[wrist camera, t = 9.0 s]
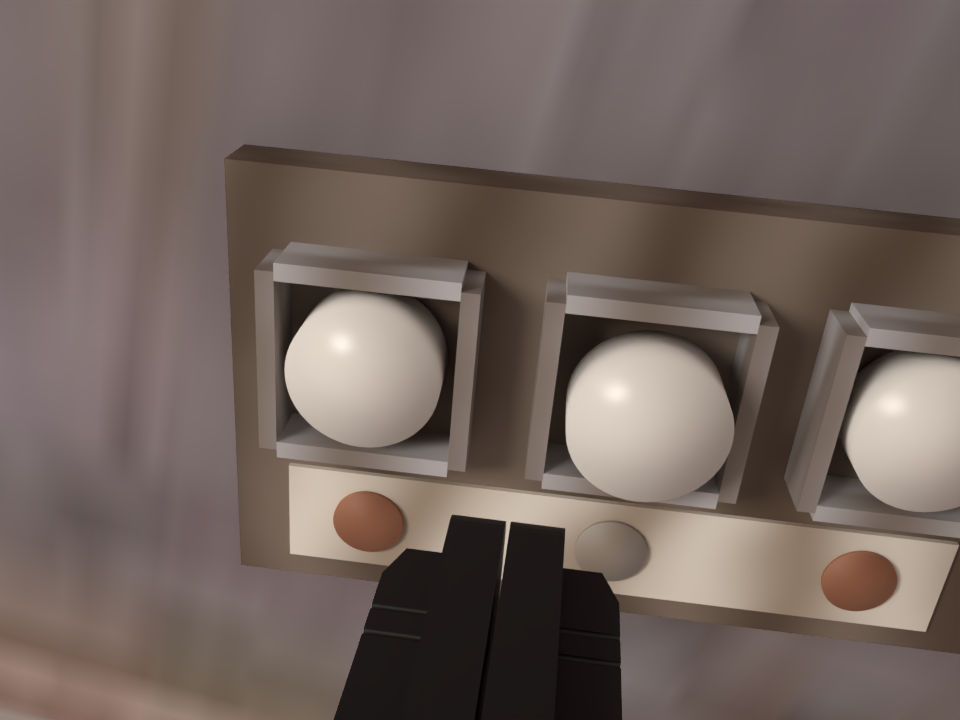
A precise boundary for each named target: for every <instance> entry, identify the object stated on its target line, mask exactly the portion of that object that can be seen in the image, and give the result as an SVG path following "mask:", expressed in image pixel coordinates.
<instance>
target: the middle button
mask: <svg viewBox="0 0 960 720" xmlns="http://www.w3.org/2000/svg"><path fill="white" fill-rule="evenodd" d="M733 438H734V418H733V413H732V410H731V407H730V404H729V401H728V397H727V394H726V391H725V388H724V385H723V382H722V379H721V376H720V374H719V372H718V370H717V367H716V366H715V364H714V363H713V361H712V360H711V358H710V357H709V356H708V355H707V354H706V353H705V352H704V351H703V350H702V349H701V348H699V347H698V346H697V345H696V344H694V343H692V342H691V341H689V340H687V339H685V338H683V337H681V336H678V335H675V334H672V333H669V332H664V331H658V330H638V331H631V332H626V333H622V334H619V335H616V336H614V337H611V338H609V339H607V340H605V341H603V342H602V343H600V344H598V345H597V346H595V347H594V348H593V349H592V350H590V351H589V352H588V353H587V354H586V355H585V356H584V357H583V358H582V359H581V361H580V362H579V363H578V365H577V366H576V368H575V370H574V371H573V373H572V375H571V378H570V380H569V383H568V387H567V392H566V443H567V447H568V451H569V453H570V456H571V458H572V461H573V462H574V464H575V466H576V467H577V469H578V470H579V471H580V473H581V474H582V475H583V476H584V477H585V478H586V479H587V480H588V481H589V482H590V483H592V484H593V485H594V486H596V487H597V488H598V489H600V490H602V491H604V492H605V493H608V494H610V495H612V496H615V497H618V498H621V499H624V500H629V501H635V502H660V501H666V500H671V499H674V498H678V497H681V496H683V495H686V494H688V493H690V492H692V491H694V490H696V489H698V488H699V487H701V486H702V485H704V484H705V483H706V482H707V481H709V480H710V479H711V478H712V477H713V476H714V475H715V474H716V473H717V472H718V471H719V469H720V468H721V467H722V465H723V464H724V462H725V461H726V459H727V457H728V454H729V452H730V450H731V447H732V443H733Z"/></svg>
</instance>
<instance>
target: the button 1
mask: <svg viewBox="0 0 960 720" xmlns="http://www.w3.org/2000/svg"><path fill="white" fill-rule="evenodd" d="M447 362H448V351H447V344H446V340H445V337H444V334H443V332H442V329H441V327H440V325H439V324H438V322H437V320H436V319H435V317H434V316H433V315H432V314H431V312H430V311H429V310H428V309H427V308H426V307H425V306H424V305H423V304H422V303H421V302H419V301H418V300H417V299H415V298H414V297H412V296H404V295H395V294H386V293H377V292H368V291H359V290H350V289H341V288H340V289H338V290H336V291H334V292H332V293H330V294H329V295H327V296H326V297H324V298H323V299H322V300H321V301H320V302H319V303H318V304H317V305H316V306H315V307H314V308H313V310H312V311H311V312H310V314H309V315H308V317H307V318H306V320H305V321H304V323H303V324H302V326H301V327H300V329H299V330H298V332H297V334H296V335H295V337H294V338H293V340H292V342H291V344H290V346H289V349H288V351H287V355H286V359H285V370H284V372H285V381H286V386H287V390H288V392H289V395H290V398H291V400H292V402H293V403H294V405H295V407H296V408H297V410H298V411H299V413H300V414H301V415H302V416H303V418H304V419H305V420H306V421H307V422H308V423H309V424H310V425H312V426H313V427H314V428H315V429H316V430H318V431H319V432H321V433H322V434H324V435H326V436H327V437H329V438H331V439H333V440H336V441H338V442H341V443H344V444H348V445H351V446H357V447H368V448H372V447H383V446H389V445H392V444H396V443H399V442H401V441H403V440H405V439H407V438H409V437H411V436H412V435H414V434H415V433H416V432H418V431H419V430H420V429H421V428H422V427H423V426H424V425H425V424H426V423H427V422H428V420H429V419H430V417H431V416H432V414H433V412H434V410H435V408H436V405H437V402H438V399H439V395H440V392H441V388H442V384H443V380H444V377H445V373H446V369H447Z"/></svg>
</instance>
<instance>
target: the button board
mask: <svg viewBox="0 0 960 720" xmlns="http://www.w3.org/2000/svg"><path fill="white" fill-rule="evenodd" d="M224 164H225V188H226V212H227V236H228V260H229V284H230V308H231V332H232V356H233V380H234V404H235V428H236V452H237V476H238V500H239V524H240V548H241V565H247V566H255V567H263V568H271V569H279V570H287V571H296V572H304V573H312V574H320V575H328V576H336V577H344V578H352V579H360V580H368V581H376V582H379V581H380V578H381V575H382V572H383V571H384V570H385V569H386V568H387V567H388V566H389V565H390V564H391V563H392V562H393V561H394V560H395V559H396V558H397V557H398V556H399V555H400V554H401V553H402V552H403V551H404V550H405V549H407V548H410V549H417V550H425V551H433V552H441V553H442V550H443V546H444V542H445V538H446V534H447V530H448V526H449V522H450V518H451V516H452V515H461V516H469V517H477V518H485V519H493V520H501V521H506V533H505V544H504V555H503V565H502V576H501V584H502V577H503V570H504V563H505V557H506V550H507V543H508V537H509V530H510V524H511V522H519V523H527V524H535V525H543V526H551V527H559V528H565V546H564V563H563V568H568V569H576V570H583V571H591V572H599V573H603V575H604V577H605V579H606V580H607V582H608V584H609V586H610V587H611V589H612V591H613V593H614V594H615V596H616V598H617V600H618V601H619V612H626V613H635V614H643V615H651V616H659V617H667V618H675V619H683V620H691V621H699V622H707V623H715V624H723V625H731V626H739V627H748V628H756V629H764V630H772V631H780V632H788V633H796V634H804V635H812V636H820V637H828V638H836V639H844V640H852V641H861V642H869V643H877V644H885V645H893V646H901V647H909V648H917V649H925V650H933V651H941V652H949V653H957V654H960V507H957V508H953V509H949V510H944V511H937V512H913V511H907V510H902V509H899V508H896V507H893V506H891V505H888V504H886V503H884V502H882V501H881V500H879V499H877V498H876V497H875V496H874V495H872V494H871V493H870V492H869V491H868V490H867V489H866V488H865V487H864V485H863V484H862V482H861V481H860V479H859V477H858V475H857V473H856V471H855V470H854V468H853V466H852V464H851V462H850V460H849V458H848V456H847V454H846V452H845V450H844V448H843V446H842V444H841V442H840V440H839V437H838V435H839V431H840V428H841V424H842V421H843V418H844V414H845V411H846V408H847V404H848V401H849V398H850V394H851V391H852V388H853V384H854V381H855V377H856V375H857V374H858V373H859V372H860V371H861V370H862V369H863V368H865V367H866V366H867V365H868V364H870V363H871V362H873V361H874V360H876V359H878V358H879V357H881V356H883V355H885V354H887V353H890V352H892V351H895V350H903V351H912V352H921V353H930V354H939V355H948V356H957V357H960V219H956V218H946V217H936V216H927V215H917V214H908V213H898V212H888V211H879V210H869V209H860V208H850V207H840V206H831V205H821V204H811V203H802V202H792V201H783V200H773V199H763V198H754V197H744V196H735V195H725V194H715V193H706V192H696V191H687V190H677V189H667V188H658V187H648V186H638V185H629V184H619V183H610V182H600V181H590V180H581V179H571V178H562V177H552V176H542V175H533V174H523V173H514V172H504V171H494V170H485V169H475V168H465V167H456V166H446V165H437V164H427V163H417V162H408V161H398V160H389V159H379V158H369V157H360V156H350V155H341V154H331V153H321V152H312V151H302V150H292V149H283V148H273V147H264V146H254V145H243V146H242V147H240V148H239V149H238V150H236V151H235V152H233V153H232V154H230V155H229V156H228V157H226V158H225V159H224ZM340 288H341V289H350V290H359V291H368V292H377V293H386V294H395V295H404V296H412V297H414V298H415V299H417V300H418V301H419V302H421V303H422V304H423V305H424V306H425V307H426V308H427V309H428V310H429V311H430V312H431V314H432V315H433V316H434V317H435V319H436V320H437V322H438V324H439V325H440V327H441V329H442V332H443V334H444V337H445V340H446V344H447V351H448V362H447V369H446V373H445V377H444V380H443V384H442V388H441V392H440V395H439V399H438V402H437V405H436V408H435V410H434V412H433V414H432V416H431V417H430V419H429V420H428V422H427V423H426V424H425V425H424V426H423V427H422V428H421V429H420V430H419V431H418V432H416V433H415V434H414V435H412V436H411V437H409V438H407V439H405V440H403V441H401V442H399V443H396V444H392V445H389V446H383V447H372V448H368V447H357V446H351V445H348V444H344V443H341V442H338V441H336V440H333V439H331V438H329V437H327V436H326V435H324V434H322V433H321V432H319V431H318V430H316V429H315V428H314V427H313V426H312V425H310V424H309V423H308V422H307V421H306V420H305V419H304V418H303V416H302V415H301V414H300V413H299V411H298V410H297V408H296V407H295V405H294V403H293V402H292V400H291V398H290V395H289V392H288V390H287V386H286V381H285V372H284V370H285V359H286V355H287V351H288V349H289V346H290V344H291V342H292V340H293V338H294V337H295V335H296V334H297V332H298V330H299V329H300V327H301V326H302V324H303V323H304V321H305V320H306V318H307V317H308V315H309V314H310V312H311V311H312V310H313V308H314V307H315V306H316V305H317V304H318V303H319V302H320V301H321V300H322V299H323V298H324V297H326V296H327V295H329V294H330V293H332V292H334V291H336V290H338V289H340ZM638 330H658V331H664V332H669V333H672V334H675V335H678V336H681V337H683V338H685V339H687V340H689V341H691V342H692V343H694V344H696V345H697V346H698V347H699V348H701V349H702V350H703V351H704V352H705V353H706V354H707V355H708V356H709V357H710V358H711V360H712V361H713V363H714V364H715V366H716V367H717V370H718V372H719V374H720V376H721V379H722V382H723V385H724V388H725V391H726V394H727V397H728V401H729V404H730V407H731V410H732V413H733V418H734V438H733V443H732V447H731V450H730V452H729V454H728V457H727V459H726V461H725V462H724V464H723V465H722V467H721V468H720V469H719V471H718V472H717V473H716V474H715V475H714V476H713V477H712V478H711V479H710V480H709V481H707V482H706V483H705V484H704V485H702V486H701V487H699V488H698V489H696V490H694V491H692V492H690V493H688V494H686V495H683V496H681V497H678V498H674V499H671V500H666V501H660V502H635V501H629V500H624V499H621V498H618V497H615V496H612V495H610V494H608V493H605V492H604V491H602V490H600V489H598V488H597V487H596V486H594V485H593V484H592V483H590V482H589V481H588V480H587V479H586V478H585V477H584V476H583V475H582V474H581V473H580V471H579V470H578V469H577V467H576V466H575V464H574V462H573V461H572V458H571V456H570V453H569V451H568V447H567V443H566V392H567V387H568V383H569V380H570V378H571V375H572V373H573V371H574V370H575V368H576V366H577V365H578V363H579V362H580V361H581V359H582V358H583V357H584V356H585V355H586V354H587V353H588V352H589V351H590V350H592V349H593V348H594V347H595V346H597V345H598V344H600V343H602V342H603V341H605V340H607V339H609V338H611V337H614V336H616V335H619V334H622V333H626V332H631V331H638ZM500 590H501V586H500Z"/></svg>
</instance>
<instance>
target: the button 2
mask: <svg viewBox="0 0 960 720" xmlns="http://www.w3.org/2000/svg"><path fill="white" fill-rule="evenodd" d="M838 437H839V440H840V442H841V444H842V446H843V448H844V450H845V452H846V454H847V456H848V458H849V460H850V462H851V464H852V466H853V468H854V470H855V471H856V473H857V475H858V477H859V479H860V481H861V482H862V484H863V485H864V487H865V488H866V489H867V490H868V491H869V492H870V493H871V494H872V495H874V496H875V497H876V498H877V499H879V500H881V501H882V502H884V503H886V504H888V505H891V506H893V507H896V508H899V509H902V510H907V511H913V512H937V511H944V510H949V509H953V508H957V507H960V357H957V356H948V355H939V354H930V353H921V352H912V351H903V350H895V351H892V352H890V353H887V354H885V355H883V356H881V357H879V358H878V359H876V360H874V361H873V362H871V363H870V364H868V365H867V366H866V367H865V368H863V369H862V370H861V371H860V372H859V373H858V374H857V375H856V377H855V381H854V384H853V388H852V391H851V394H850V398H849V401H848V404H847V408H846V411H845V414H844V418H843V421H842V424H841V428H840V431H839V435H838Z"/></svg>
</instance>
